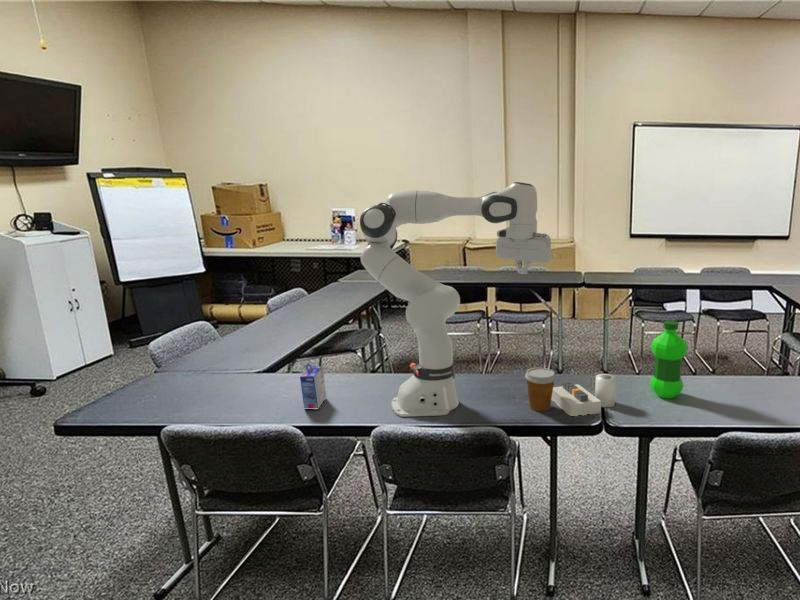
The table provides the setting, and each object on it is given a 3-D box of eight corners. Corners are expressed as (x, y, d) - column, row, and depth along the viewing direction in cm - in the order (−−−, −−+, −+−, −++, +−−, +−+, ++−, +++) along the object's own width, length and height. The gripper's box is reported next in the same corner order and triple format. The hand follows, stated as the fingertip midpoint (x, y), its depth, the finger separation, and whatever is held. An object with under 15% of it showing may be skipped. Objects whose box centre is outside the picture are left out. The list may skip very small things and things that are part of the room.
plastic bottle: (673, 388, 176) (678, 317, 170) (689, 401, 166) (695, 326, 160) (643, 389, 176) (647, 318, 171) (657, 402, 166) (662, 327, 160)
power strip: (570, 417, 159) (571, 398, 158) (539, 389, 180) (539, 373, 179) (600, 413, 161) (601, 395, 159) (566, 386, 182) (566, 370, 181)
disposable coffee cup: (552, 401, 171) (552, 366, 168) (557, 413, 162) (558, 377, 159) (522, 401, 172) (523, 367, 169) (526, 413, 163) (527, 378, 160)
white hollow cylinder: (601, 408, 164) (602, 381, 162) (591, 400, 170) (592, 374, 168) (618, 406, 165) (619, 379, 163) (607, 398, 171) (609, 372, 169)
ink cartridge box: (311, 398, 183) (308, 359, 179) (326, 398, 182) (323, 359, 179) (302, 410, 173) (298, 369, 170) (318, 410, 172) (314, 369, 169)
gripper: (556, 232, 165) (555, 275, 168) (504, 229, 180) (504, 269, 183) (544, 234, 161) (543, 278, 164) (492, 231, 176) (493, 271, 179)
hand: (522, 273), depth 174 cm, fingers closed
